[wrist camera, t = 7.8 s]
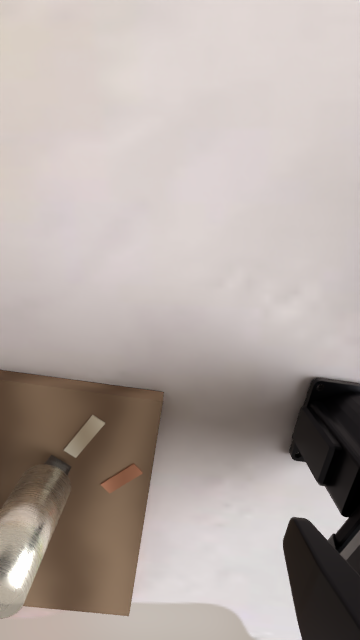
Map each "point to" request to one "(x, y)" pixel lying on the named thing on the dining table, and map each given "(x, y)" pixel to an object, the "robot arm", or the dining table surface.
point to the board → (83, 482)
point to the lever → (29, 528)
